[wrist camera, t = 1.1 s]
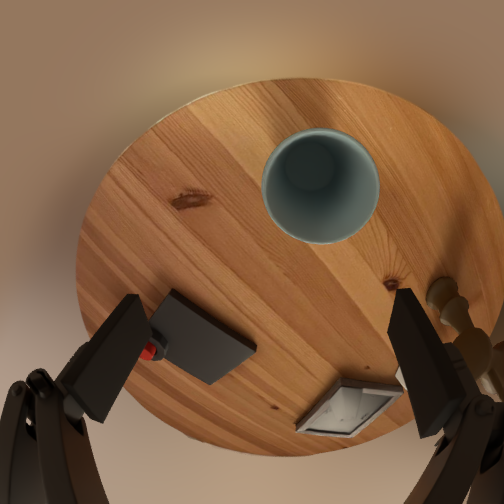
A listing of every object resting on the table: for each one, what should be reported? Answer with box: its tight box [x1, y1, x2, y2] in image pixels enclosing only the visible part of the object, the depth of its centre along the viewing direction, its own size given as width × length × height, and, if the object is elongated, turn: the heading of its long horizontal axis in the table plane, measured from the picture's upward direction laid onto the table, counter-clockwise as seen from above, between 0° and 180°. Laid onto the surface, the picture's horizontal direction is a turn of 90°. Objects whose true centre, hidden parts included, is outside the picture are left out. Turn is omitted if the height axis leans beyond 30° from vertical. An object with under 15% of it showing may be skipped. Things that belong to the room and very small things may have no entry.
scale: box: [148, 289, 257, 385], centre depth 37 cm, size 15×13×3 cm
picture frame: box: [296, 377, 404, 438], centre depth 42 cm, size 13×2×18 cm
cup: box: [262, 128, 380, 244], centre depth 21 cm, size 8×8×10 cm
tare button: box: [140, 341, 156, 360], centre depth 36 cm, size 3×3×2 cm
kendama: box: [426, 277, 504, 402], centre depth 21 cm, size 6×10×20 cm, turn 68°
